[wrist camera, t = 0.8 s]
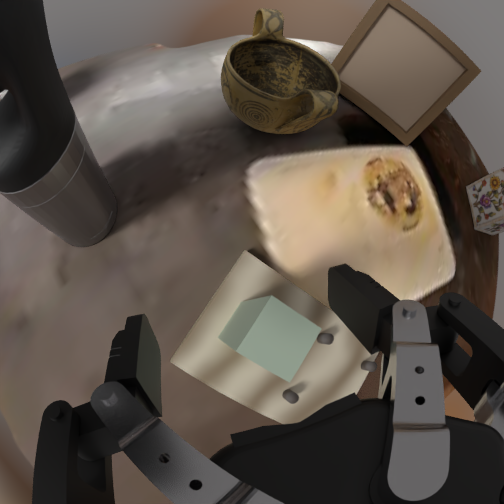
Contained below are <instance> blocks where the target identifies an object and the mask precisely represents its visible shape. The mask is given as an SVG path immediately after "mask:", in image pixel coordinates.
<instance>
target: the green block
mask: <svg viewBox="0 0 504 504" xmlns="http://www.w3.org/2000/svg"><path fill="white" fill-rule="evenodd" d="M321 329H322V328H320V327H319V326H317V325H315V324H314V323H312V322H311V321H309V320H308V319H306V318H305V317H303V316H302V315H300V314H299V313H297V312H296V311H294V310H293V309H291V308H290V307H288V306H287V305H285V304H284V303H282V302H281V301H280V300H278V299H277V298H275V297H274V296H272V295H270V296H266V297H261V298H257V299H252V300H248V301H243V302H241V303H240V304H239V306H238V307H237V309H236V310H235V312H234V313H233V315H232V317H231V318H230V320H229V321H228V323H227V324H226V326H225V327H224V329H223V330H222V332H221V333H220V335H219V336H218V338H219V339H220V340H221V341H223V342H224V343H225V344H227V345H228V346H229V347H231V348H232V349H233V350H235V351H236V352H238V353H239V354H241V355H242V356H244V357H246V358H247V359H249V360H251V361H252V362H254V363H256V364H258V365H259V366H261V367H263V368H264V369H266V370H268V371H270V372H271V373H273V374H275V375H277V376H279V377H280V378H282V379H284V380H286V381H288V382H291V380H292V378H293V377H294V375H295V374H296V372H297V370H298V369H299V367H300V365H301V364H302V362H303V360H304V359H305V357H306V355H307V354H308V352H309V350H310V349H311V347H312V345H313V343H314V342H315V340H316V338H317V336H318V335H319V333H320V331H321Z"/></svg>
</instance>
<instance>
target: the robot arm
mask: <svg viewBox="0 0 504 504" xmlns="http://www.w3.org/2000/svg"><path fill="white" fill-rule="evenodd" d="M4 90H8V91H7V93H6V94H5V96H4V97H3V98H2V99H1V101H0V193H1V194H2V195H3V196H5V197H6V198H7V199H8V200H10V201H11V202H12V203H13V204H15V205H16V206H18V207H19V208H20V209H21V210H23V211H24V212H25V213H27V214H28V215H29V216H31V217H32V218H33V219H35V220H36V221H37V222H39V223H40V224H41V225H43V226H44V227H46V228H47V229H48V230H50V231H51V232H53V233H54V234H55V235H57V236H58V237H60V238H61V239H63V240H64V241H66V242H67V243H69V244H71V245H72V246H76V247H87V246H91V245H93V244H95V243H98V242H99V241H100V240H102V239H103V238H104V237H105V236H106V235H107V234H108V233H109V231H110V230H111V228H112V226H113V224H114V222H115V219H116V214H117V203H116V198H115V196H114V194H113V192H112V190H111V188H110V186H109V184H108V182H107V180H106V178H105V176H104V174H103V172H102V170H101V168H100V166H99V164H98V162H97V160H96V158H95V156H94V154H93V152H92V150H91V148H90V146H89V143H88V141H87V139H86V137H85V135H84V133H83V131H82V128H81V126H80V124H79V122H78V119H77V117H76V115H75V112H74V110H73V107H72V105H71V103H70V100H69V98H68V96H67V93H66V91H65V88H64V85H63V83H62V80H61V77H60V75H59V72H58V69H57V66H56V63H55V60H54V56H53V52H52V49H51V45H50V40H49V36H48V30H47V25H46V19H45V13H44V6H43V0H0V93H1V92H2V91H4ZM328 301H329V304H330V307H331V309H332V310H333V312H334V313H335V314H336V315H337V316H338V317H339V318H340V320H341V321H342V322H343V323H344V324H345V325H346V326H347V328H348V329H349V330H350V331H351V332H352V333H353V334H354V336H355V337H356V338H357V339H358V340H359V341H360V343H361V344H362V345H363V346H364V347H365V348H366V350H367V351H368V352H369V353H370V354H371V355H373V354H375V353H377V352H379V351H382V353H383V356H382V364H381V376H380V386H379V394H378V398H367V399H359V398H358V397H357V395H356V394H355V392H354V393H352V394H350V395H348V396H345V397H343V398H341V399H338V400H336V401H334V402H331V403H329V404H326V405H325V406H324V407H322V408H321V409H319V410H318V411H316V412H315V413H313V414H312V415H310V416H309V417H307V418H305V419H304V420H302V421H300V422H298V423H291V424H282V425H271V426H262V427H258V428H254V429H251V430H247V431H243V432H239V433H235V434H230V435H231V439H232V442H233V443H231V444H229V445H227V446H225V447H224V448H222V449H220V450H219V451H218V452H217V453H215V454H214V455H213V456H212V457H211V458H210V459H208V458H206V457H205V456H204V455H202V454H201V453H200V452H198V451H197V450H196V449H195V448H193V447H192V446H191V445H190V444H188V443H187V442H186V441H185V440H183V439H182V438H181V437H180V436H179V435H177V434H176V433H175V432H174V431H173V430H172V429H170V428H169V427H168V426H167V425H166V424H165V423H164V422H163V421H161V420H160V419H159V418H158V417H162V404H161V355H160V349H159V345H158V342H157V340H156V337H155V335H154V333H153V331H152V328H151V326H150V323H149V321H148V319H147V317H146V315H145V314H140V315H135V316H130V317H127V320H126V325H125V330H121V331H119V332H118V333H117V334H116V336H115V337H114V339H113V341H112V346H111V350H110V355H109V357H110V358H109V360H108V365H107V370H106V375H105V381H104V384H102V385H100V386H98V387H97V388H96V389H95V390H94V392H93V393H92V396H91V401H90V402H88V403H85V404H82V405H80V406H77V407H74V408H72V407H71V405H70V404H69V403H68V402H66V401H63V400H59V401H55V402H53V403H51V404H50V405H49V406H48V407H47V408H46V409H45V411H44V413H43V416H42V421H41V426H40V432H39V438H38V444H37V451H36V458H35V467H34V478H33V496H32V497H33V498H32V504H115V500H114V489H113V476H112V454H115V453H118V452H120V451H124V453H125V454H126V455H127V456H128V457H129V458H130V460H131V461H132V462H133V463H134V464H135V465H136V466H137V467H138V468H139V470H140V471H141V472H142V473H143V474H144V475H145V476H146V477H147V478H148V479H149V480H150V481H151V482H152V483H153V484H154V485H155V486H156V487H157V488H158V489H159V490H160V491H161V492H162V493H163V494H164V495H165V496H166V497H167V498H169V499H170V500H171V501H172V502H173V503H174V504H504V329H502V327H500V326H499V325H498V324H497V323H496V322H494V321H493V320H492V319H491V318H490V317H489V316H487V315H486V314H485V313H484V312H482V311H481V310H480V309H479V308H477V307H476V306H475V305H474V304H472V303H471V302H470V301H469V300H467V299H466V298H465V297H463V296H462V295H460V294H457V293H445V294H443V295H442V296H441V297H440V300H439V304H438V305H437V306H431V307H426V308H425V307H424V306H423V305H422V304H420V303H419V302H417V301H413V300H401V301H400V300H399V299H398V298H396V297H395V296H394V295H393V294H392V293H390V292H389V291H388V290H387V289H385V288H384V287H383V286H381V285H380V284H379V283H378V282H375V280H374V279H373V278H371V277H370V276H369V275H367V274H364V273H362V272H359V271H355V270H353V269H352V268H351V267H350V266H348V265H347V264H342V265H338V266H335V267H331V268H330V269H329V271H328ZM458 335H460V336H461V337H462V338H463V339H464V340H465V341H466V342H468V343H469V344H470V346H471V347H472V351H473V354H472V357H470V356H469V355H468V354H467V353H466V352H465V351H464V350H463V349H462V348H461V347H460V346H459V345H458V344H457V343H456V340H457V338H458ZM442 374H443V375H444V376H445V377H446V378H447V379H448V381H449V382H450V383H451V384H452V385H453V386H454V388H455V389H456V390H457V391H458V392H459V393H460V395H461V396H462V397H463V398H464V399H465V401H466V402H467V403H468V404H469V405H470V407H471V408H472V409H473V410H474V416H475V420H474V421H469V420H464V419H459V418H455V417H451V416H446V415H445V407H444V390H443V379H442Z"/></svg>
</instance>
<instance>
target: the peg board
mask: <svg viewBox="0 0 504 504" xmlns="http://www.w3.org/2000/svg"><path fill="white" fill-rule="evenodd" d="M270 295H272V296H274V297H275V298H277V299H278V300H280V301H281V302H282V303H284V304H285V305H287V306H288V307H290V308H291V309H293V310H294V311H296V312H297V313H299V314H300V315H302V316H303V317H305V318H306V319H308V320H309V321H311V322H312V323H314V324H315V325H317V326H319V327H320V328H322V329H321V331H320V333H319V335H318V336H317V338H316V340H315V342H314V343H313V345H312V347H311V349H310V350H309V352H308V354H307V355H306V357H305V359H304V360H303V362H302V364H301V365H300V367H299V369H298V370H297V372H296V374H295V375H294V377H293V378H292V380H291V382H288V381H286V380H284V379H282V378H280V377H279V376H277V375H275V374H273V373H271V372H270V371H268V370H266V369H264V368H263V367H261V366H259V365H258V364H256V363H254V362H252V361H251V360H249V359H247V358H246V357H244V356H242V355H241V354H239V353H238V352H236V351H235V350H233V349H232V348H231V347H229V346H228V345H227V344H225V343H224V342H223V341H221V340H220V339H219V338H218V336H219V335H220V333H221V332H222V330H223V329H224V327H225V326H226V324H227V323H228V321H229V320H230V318H231V317H232V315H233V313H234V312H235V310H236V309H237V307H238V306H239V304H240V303H241V302H243V301H248V300H252V299H257V298H261V297H266V296H270ZM377 354H378V352H377V353H375V354H373V355H371V354H370V353H369V352H368V351H367V350H366V348H365V347H364V346H363V345H362V344H361V343H360V341H359V340H358V339H357V338H356V337H355V336H354V334H353V333H352V332H351V331H350V330H349V329H348V328H347V326H346V325H345V324H344V323H343V322H342V321H341V320H340V318H339V317H338V316H337V315H336V314H335V313H334V312H333V311H332V310H330V309H329V308H327V307H326V306H325V305H323V304H322V303H320V302H319V301H317V300H316V299H315V298H313V297H312V296H310V295H309V294H307V293H306V292H305V291H303V290H302V289H300V288H299V287H297V286H296V285H295V284H293V283H292V282H290V281H289V280H287V279H286V278H284V277H283V276H282V275H280V274H279V273H277V272H276V271H274V270H273V269H272V268H270V267H269V266H267V265H266V264H264V263H263V262H262V261H260V260H259V259H257V258H256V257H254V256H253V255H252V254H250V253H249V252H247V251H246V250H245V251H244V252H243V253H242V254H241V256H240V257H239V259H238V260H237V262H236V263H235V265H234V266H233V268H232V269H231V271H230V272H229V274H228V275H227V276H226V278H225V279H224V281H223V282H222V284H221V285H220V287H219V288H218V290H217V291H216V293H215V294H214V296H213V297H212V299H211V300H210V302H209V303H208V305H207V306H206V308H205V309H204V311H203V312H202V313H201V315H200V316H199V318H198V319H197V321H196V322H195V324H194V325H193V327H192V328H191V330H190V331H189V333H188V334H187V336H186V337H185V339H184V340H183V342H182V343H181V345H180V346H179V348H178V349H177V351H176V352H175V354H174V355H173V357H172V358H171V360H170V362H171V363H173V364H174V365H176V366H177V367H179V368H181V369H182V370H184V371H185V372H187V373H188V374H190V375H192V376H193V377H195V378H197V379H198V380H200V381H202V382H203V383H205V384H207V385H208V386H210V387H212V388H213V389H215V390H217V391H219V392H220V393H222V394H224V395H226V396H228V397H230V398H231V399H233V400H235V401H237V402H239V403H241V404H243V405H245V406H247V407H249V408H251V409H252V410H254V411H257V412H259V413H261V414H263V415H265V416H267V417H269V418H271V419H273V420H275V421H278V422H280V423H282V424H291V423H298V422H300V421H302V420H304V419H305V418H307V417H309V416H310V415H312V414H313V413H315V412H316V411H318V410H319V409H321V408H322V407H324V406H325V405H326V404H329V403H331V402H334V401H336V400H338V399H341V398H343V397H345V396H348V395H350V394H352V393H354V392H355V394H357V393H358V391H359V389H360V387H361V385H362V384H363V382H364V380H365V378H366V376H367V374H368V372H369V371H370V372H374V371H375V370H376V368H377V364H376V362H374V361H375V359H376V356H377Z"/></svg>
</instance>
